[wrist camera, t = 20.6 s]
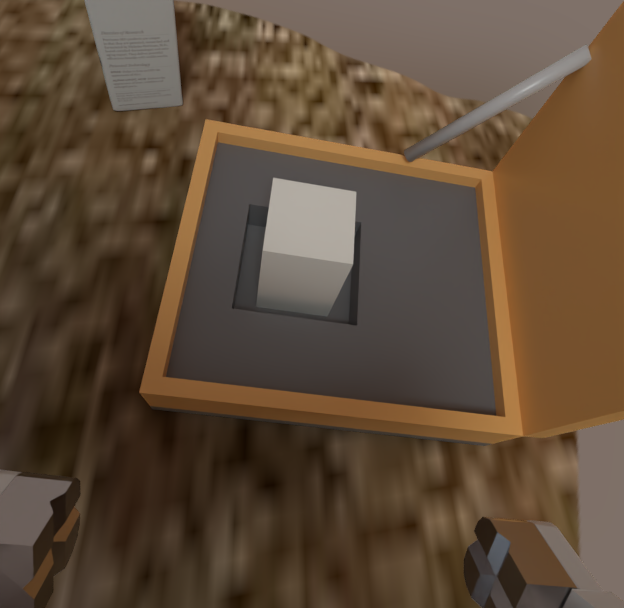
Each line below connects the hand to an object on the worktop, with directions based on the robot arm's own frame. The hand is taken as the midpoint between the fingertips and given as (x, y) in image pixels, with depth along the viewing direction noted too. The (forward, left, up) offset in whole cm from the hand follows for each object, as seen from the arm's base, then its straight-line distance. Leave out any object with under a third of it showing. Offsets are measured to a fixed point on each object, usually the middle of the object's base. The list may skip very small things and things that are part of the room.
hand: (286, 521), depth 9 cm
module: (+1, +15, -18) cm, 24 cm away
